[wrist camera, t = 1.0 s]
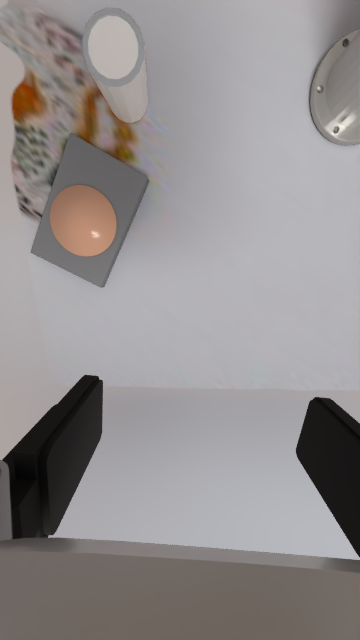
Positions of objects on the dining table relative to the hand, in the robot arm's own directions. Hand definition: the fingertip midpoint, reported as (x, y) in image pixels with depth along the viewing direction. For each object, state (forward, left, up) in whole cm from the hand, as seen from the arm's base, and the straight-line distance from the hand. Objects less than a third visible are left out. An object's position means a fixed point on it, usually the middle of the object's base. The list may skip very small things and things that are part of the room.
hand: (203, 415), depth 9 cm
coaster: (-5, -20, -26) cm, 33 cm away
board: (-6, -20, -28) cm, 35 cm away
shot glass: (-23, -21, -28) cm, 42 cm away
